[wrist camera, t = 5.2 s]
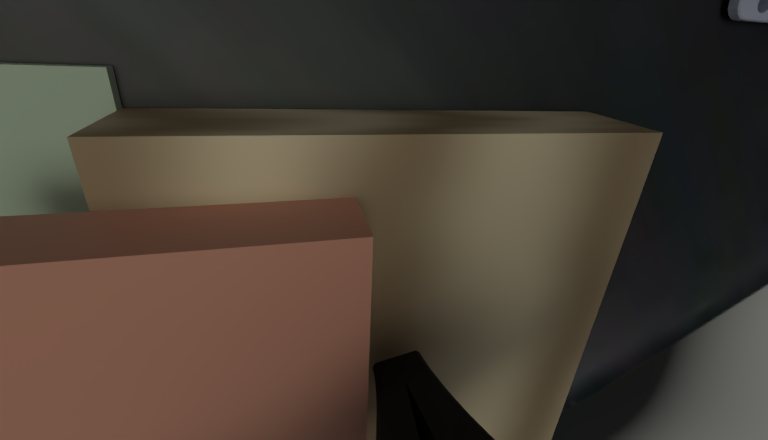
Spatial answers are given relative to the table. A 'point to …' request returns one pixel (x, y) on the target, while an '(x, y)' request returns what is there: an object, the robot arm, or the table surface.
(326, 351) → the salmon orange slab
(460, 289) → the wooden block
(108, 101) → the mat
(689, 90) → the table surface
